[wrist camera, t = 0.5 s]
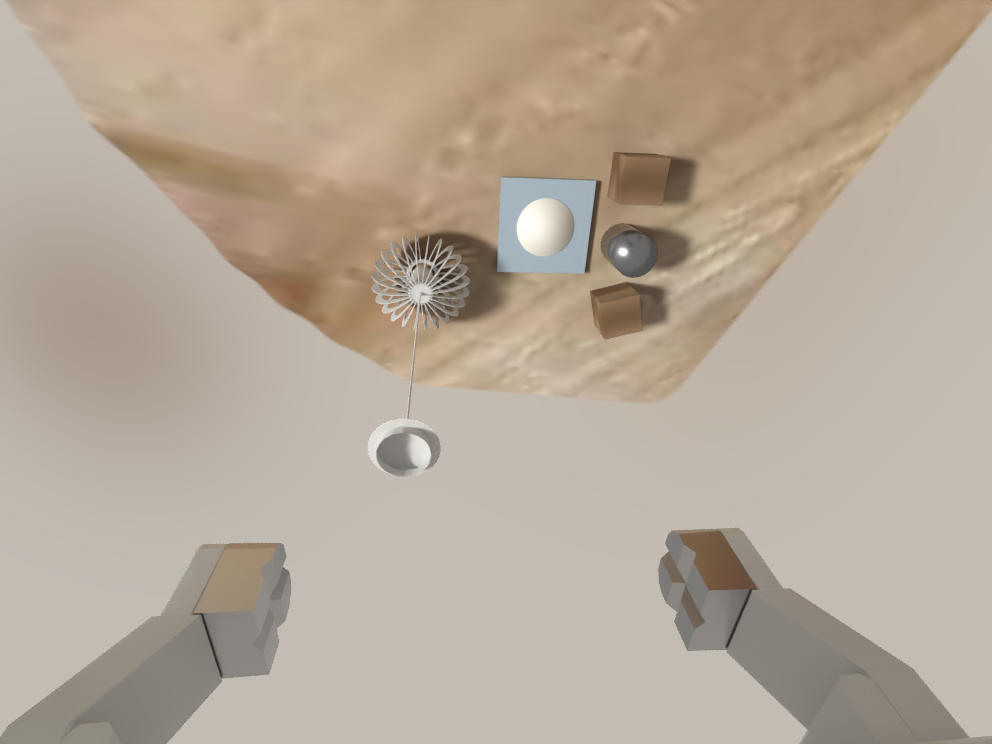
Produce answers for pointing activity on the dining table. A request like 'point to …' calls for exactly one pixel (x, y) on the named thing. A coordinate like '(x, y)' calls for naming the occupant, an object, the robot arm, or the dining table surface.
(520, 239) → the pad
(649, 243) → the metal cylinder
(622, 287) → the walnut cube
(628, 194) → the walnut cube
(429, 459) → the pendant light
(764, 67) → the dining table surface
